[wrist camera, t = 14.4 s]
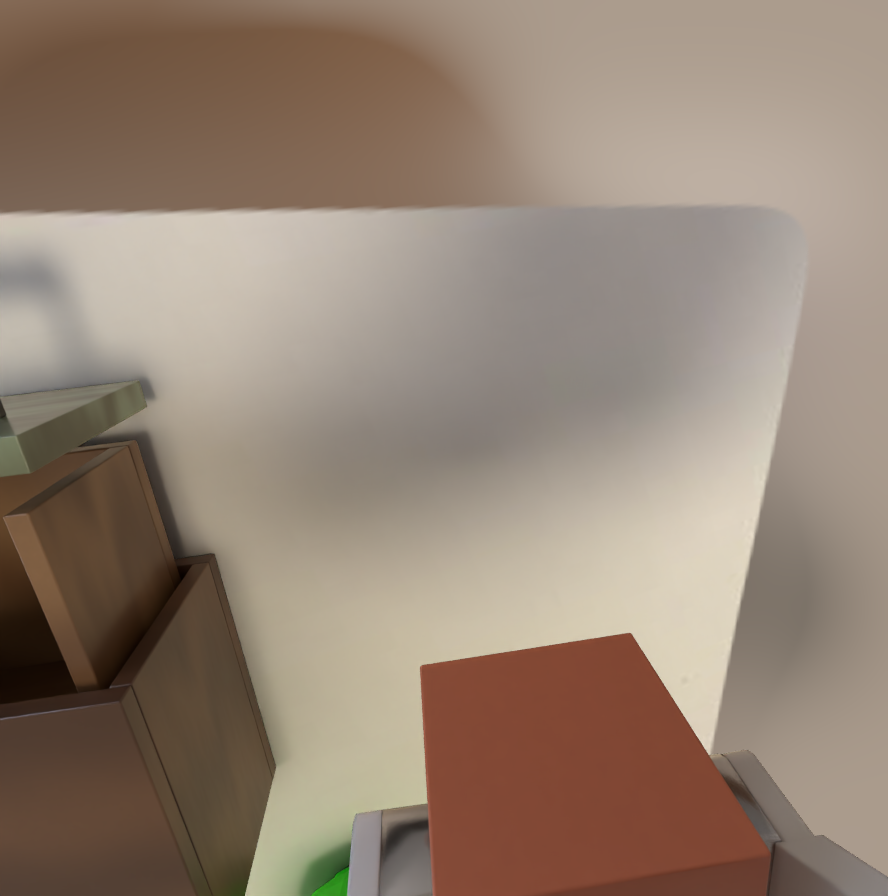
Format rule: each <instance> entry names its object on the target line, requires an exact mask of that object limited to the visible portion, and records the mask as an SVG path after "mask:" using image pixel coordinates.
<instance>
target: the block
mask: <svg viewBox="0 0 888 896" xmlns="http://www.w3.org/2000/svg"><path fill="white" fill-rule="evenodd" d="M420 676H421V694H422V712H423V730H424V748H425V766H426V784H427V801H428V819H429V837H430V855H431V873H432V891H433V896H766V892H767V884H768V876H769V868H770V860H771V853H770V851H769V849H768V848H767V846H766V844H765V843H764V841H763V840H762V838H761V837H760V835H759V833H758V832H757V830H756V829H755V827H754V826H753V824H752V822H751V821H750V819H749V818H748V816H747V815H746V813H745V811H744V810H743V808H742V807H741V805H740V804H739V802H738V800H737V799H736V797H735V796H734V794H733V793H732V791H731V789H730V788H729V786H728V785H727V783H726V782H725V780H724V778H723V777H722V775H721V774H720V772H719V771H718V769H717V767H716V766H715V764H714V763H713V761H712V760H711V758H710V756H709V755H708V753H707V752H706V750H705V749H704V747H703V745H702V744H701V742H700V741H699V739H698V738H697V736H696V734H695V733H694V731H693V730H692V728H691V727H690V725H689V723H688V722H687V720H686V719H685V717H684V716H683V714H682V712H681V711H680V709H679V708H678V706H677V705H676V703H675V701H674V700H673V698H672V697H671V695H670V694H669V692H668V690H667V689H666V687H665V686H664V684H663V683H662V681H661V679H660V678H659V676H658V675H657V673H656V672H655V670H654V668H653V667H652V665H651V664H650V662H649V661H648V659H647V657H646V656H645V654H644V653H643V651H642V650H641V648H640V646H639V645H638V643H637V642H636V640H635V639H634V637H633V635H632V634H631V633H626V634H619V635H613V636H607V637H600V638H594V639H587V640H581V641H574V642H568V643H562V644H555V645H549V646H542V647H536V648H530V649H523V650H517V651H510V652H504V653H498V654H491V655H485V656H478V657H472V658H465V659H459V660H453V661H446V662H440V663H433V664H427V665H422V666H421V667H420Z"/></svg>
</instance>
